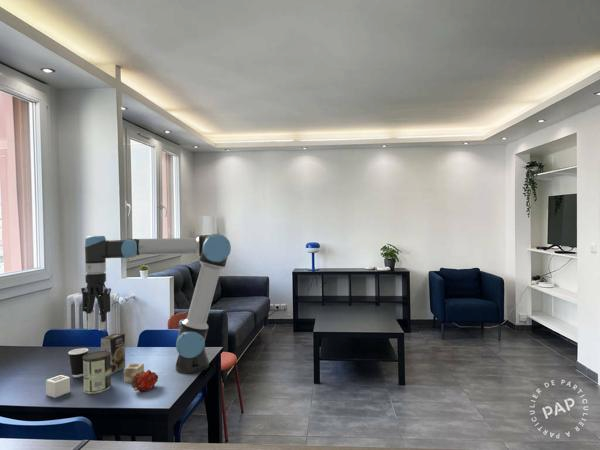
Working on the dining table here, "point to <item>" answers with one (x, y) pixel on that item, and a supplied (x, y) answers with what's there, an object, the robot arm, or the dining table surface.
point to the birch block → (132, 371)
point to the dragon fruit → (144, 381)
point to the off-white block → (57, 386)
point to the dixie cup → (77, 361)
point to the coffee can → (97, 372)
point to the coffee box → (115, 350)
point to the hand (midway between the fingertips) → (96, 328)
